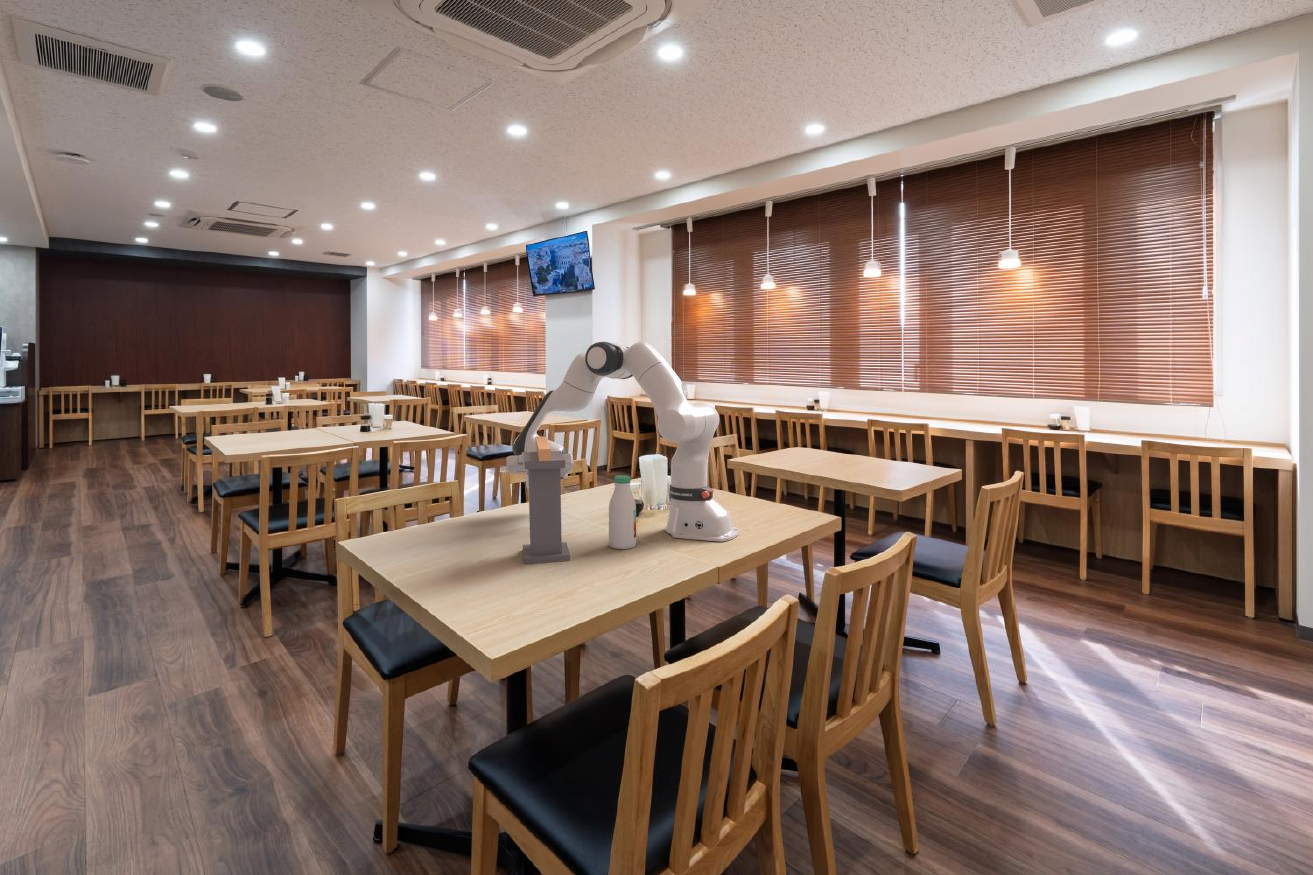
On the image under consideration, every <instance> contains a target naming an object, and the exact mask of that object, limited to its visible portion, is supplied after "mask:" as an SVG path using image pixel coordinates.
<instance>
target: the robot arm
mask: <svg viewBox="0 0 1313 875" xmlns="http://www.w3.org/2000/svg"><path fill="white" fill-rule="evenodd" d="M632 377H633V378H634V379H635V380H636V382H637V383H638V385H639V386H640V388H642V390H643V392H644V393H645V395H646V397H648V399H649V400H650V401H651V403H652V405H653V408H654V410H655V412H656V415H657V422H656V423H657V424H656V425H657V430H658V432H659V435H660V436H661V437H662V438H663V439H664V440H665V441H669V442H671V443H677V446H676V450H675V453H674V454H673V456H672V458H671V460H670V485H669V489H668V490H669V493H668V494H669V495H668V496H669V497H668V498H669V502H670V503H669V511H668V518H667V521H666V522H667V523H666V526H665V532H666V533H668V534H670V535H671V536H672V538H675V539H686V540H696V541H698V540H699V541H709V542H710V541H711V542H721V543H722V542H727V541H731V540H733V539H735V538H736V537H737V536H738V535H739V534H740V529H739V528H738V527H737V526H736V527H735V526H733V522H732V516H731V513H730V512H729V510H728V509H726V508H725V507H724V506H723V505H721V504H720V502H718V501H717V500H716V499H714V497H713V496H714V493H715V492H716V491H715V490H716V489H715V487H714V488H711V487H710V486H709V485H708V468H709V467H708V465H709V464H708V463H709V456H710V451H711V447H712V443H713V438H714V435H715V432H716V430H717V429H718V427H719V425H720V414H719V412H718V411H717V409H716V408H715V407H714V406H712V405H710V404H707V403H704V402H694V403H690V402H689V401H688V400H687V398H686V396H685V393H684V391H683V389H682V388H683V383H682V382H683V381H682V379H680V377H679V375H678V374H677V373H676V372H675V370H674V369H673V368H672V366H671V365H670V363H669V362H668V361H667V359H666V358H664V356H663V355H662V354H661V353H660V352H659V351H658V349H656V348H655V347H654V346H653V345H651V344H650V343H649V342H647V341H641V340H640V341H638V342H635V343H634V344H632V345H631V346H629V347H628V346H624V345H621V344H620V343H616V342H608V341H598V342H594V343H593V344H591V345H590V346H589V347H588V348H587V350H586V352H581V353H578V354H577V355H576V356H575V357H574V359H573V360H572V362H571V364H570V366H568V369H567V371H566V373H565V375H564V377H563V380H562V382H561V383H560V385H559V386H558V387H557V388H556V389H555V390H554V389H553V390H548V392H547V393H546V394H544V396H543V398H542V399H541V401H540V402H539V403H538V404H537V406H536V408H535V410H534V412H533V413H532V415H531V416H530V418H529V419H528V420H527V422H526V424H525V426H524V427H523V429H522V431H521V432H520V433H519V434H518V435H517V437H516V438H515V439H514V442H513V443H512V448H511V450H512V453H513V455H509V456H507V457H506V467H505V470H506V472H508V473H509V474H513V475H519V474H522V475H523V474H525V486H526V488H527V490H528V491H529V478H528V469H525V463H524V452H537V451H536V446H535V437H538V436H540V435H539V434H538V433H537V432H538V430H539V428H540V427H541V425H542V424H543V422H544V421H545V419H546V417H547V416H548V415H549V414H550V413H551V412H567V413H568V412H569V413H570V412H579V411H581V410H584V409H586V408H587V407H588V406H589V405H590V403H591V402H592V399H593V397H594V395H595V393H596V391H597V388H598V386H599V384H600V382H601V380H602V379H604V378H609V379H612V380H615V379H616V380H618V379H619V380H625V379H626V380H627V379H630V378H632ZM547 440H548V443H549V445H550V448H551V451H561V453H562V455H563V457H564V459H565V468H560V479H561V480H564V479H567V478H568V474H570V473H571V472H572V470H573V467H574V456H573V454H572V453H568V450H567V449H566V448H567V447H565V446H564V445H561V444H559V443H557V442H554V441H552V440H550V439H547Z"/></svg>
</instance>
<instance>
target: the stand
mask: <svg viewBox="0 0 1313 875" xmlns="http://www.w3.org/2000/svg"><path fill="white" fill-rule="evenodd" d="M524 463H525V469H528V478H529V490H528V511H529V512H528V516H529V518H528V519H529V544H522V559H523V560H522V562H523V563H527V564H538V562H542V563H553V562H555V563H556V562H567V561H568V562H570V561H571V553H570V551H569V550H570V549H569V547H568V546H569V545H568V543H567V542H566V541H565V542H564V541H562V495H561V494H562V493H561V492H562V491H561V489H562V487H561V483H562V481H561V480H562V479H560V468H565V459H564V457H563V455H562V453H561V451H551V461H539V458H538V455H537V452H524Z"/></svg>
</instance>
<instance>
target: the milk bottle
mask: <svg viewBox="0 0 1313 875" xmlns="http://www.w3.org/2000/svg"><path fill="white" fill-rule="evenodd" d="M631 479H632V478H631V476H630V475H626V474H622V475H621V474H619V475H615V476H614V478H613V484H614V488H613V493H612V495H611V498H610V500H609V504H608V545H609V547H610V548H612V549H615V550H629V549H632V548H635V547H636V546H637V505H636V501H635V498H634V495H633V494H632V491H631V487H630V486H631V481H632V480H631Z"/></svg>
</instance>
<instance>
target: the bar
mask: <svg viewBox="0 0 1313 875" xmlns="http://www.w3.org/2000/svg"><path fill="white" fill-rule="evenodd" d="M548 440H549V439H548V438H547V436H546V435H544V436H540V435H539V436H538V437H535V446H536V451H537V455H538V458H539V461H551V448H550V445H549V443H548Z"/></svg>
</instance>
